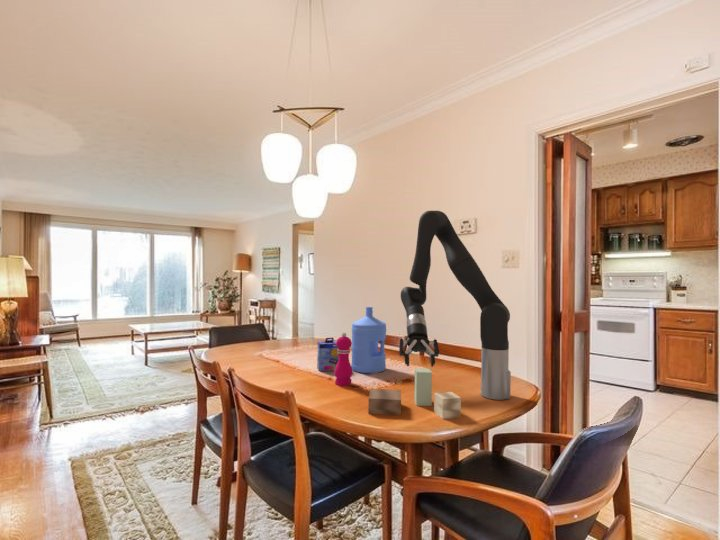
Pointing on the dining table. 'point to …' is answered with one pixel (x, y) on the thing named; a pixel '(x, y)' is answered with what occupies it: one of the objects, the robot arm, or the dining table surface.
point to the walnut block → (384, 402)
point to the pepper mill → (343, 362)
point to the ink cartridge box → (327, 355)
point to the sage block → (423, 387)
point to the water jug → (368, 344)
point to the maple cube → (447, 405)
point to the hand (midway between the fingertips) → (420, 365)
